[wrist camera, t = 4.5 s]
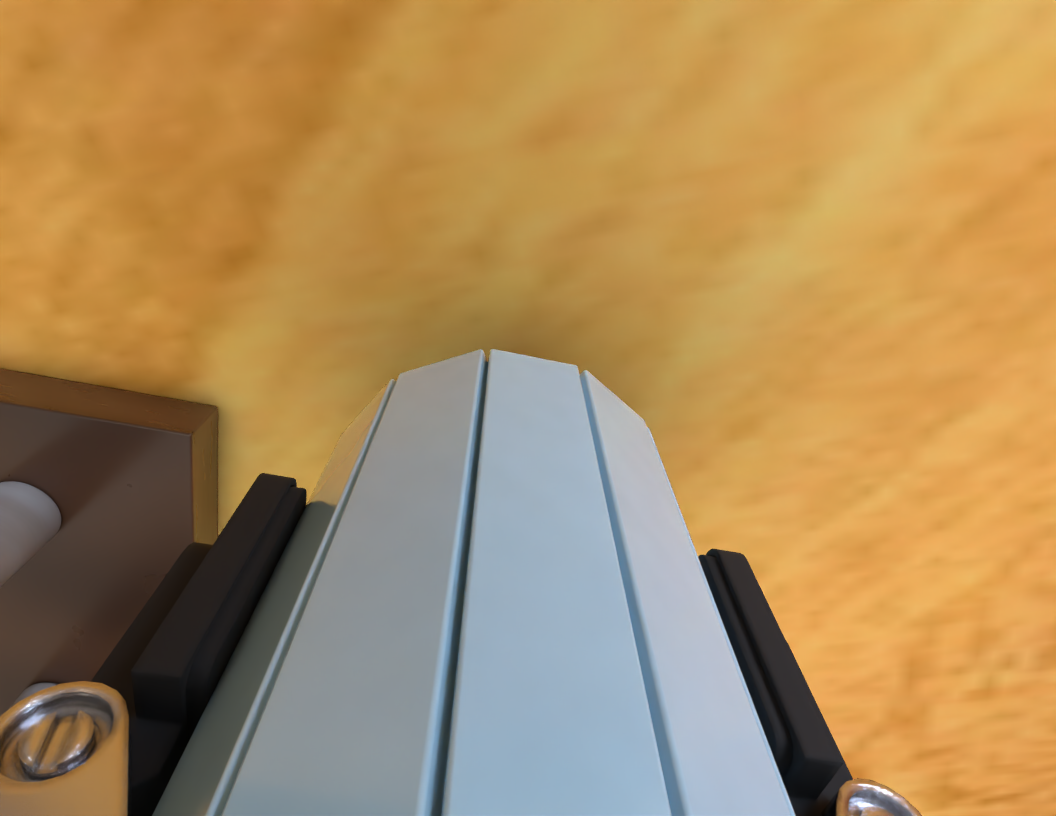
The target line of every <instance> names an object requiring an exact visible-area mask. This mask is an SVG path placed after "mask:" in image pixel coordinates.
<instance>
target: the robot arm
mask: <svg viewBox="0 0 1056 816" xmlns="http://www.w3.org/2000/svg"><path fill="white" fill-rule="evenodd" d="M305 507H306V489H304V488H298V487H297V484H296V479H294V478H289V477H283V476H277V475H271V474H265V473H262V474H260V475H259V476H258V477H257V479H256V480H255V482H254V483H253V485H252V486H251V488H250V489H249V491H248V492H247V494H246V496H245V497H244V499H243V500H242V502H241V503H240V505H239V506H238V508H237V509H236V511H235V512H234V514H233V515H232V517H231V518H230V520H229V521H228V523H227V525H226V526H225V528H224V529H223V531H222V532H221V534H220V535H219V537H218V538H217V540H216V541H215V543H214V544H213V545H210V544H203V543H197V542H193V543H191V544H190V545H188V546H187V547H186V549H185V550H184V551H183V552H182V553H181V555H180V556H179V558H178V559H177V560H176V562H175V563H174V565H173V566H172V567H171V569H170V570H169V572H168V573H167V574H166V576H165V577H164V579H163V580H162V582H161V583H160V584H159V586H158V587H157V589H156V590H155V591H154V593H153V594H152V596H151V597H150V598H149V600H148V601H147V603H146V604H145V605H144V607H143V608H142V610H141V611H140V613H139V614H138V615H137V617H136V618H135V620H134V621H133V622H132V624H131V625H130V627H129V628H128V629H127V631H126V632H125V634H124V635H123V636H122V638H121V639H120V641H119V642H118V643H117V645H116V646H115V648H114V649H113V651H112V652H111V653H110V655H109V656H108V658H107V659H106V660H105V662H104V663H103V665H102V666H101V667H100V669H99V670H98V672H97V673H96V674H95V676H94V677H93V679H92V680H91V681H90V682H88V681H78V682H70V683H62V684H59V685H56V686H52V687H49V688H46V689H43V690H40V691H38V692H36V693H34V694H32V695H31V696H29V697H27V698H25V699H23V700H21V701H19V702H17V703H16V704H15V705H14V706H12V707H11V708H10V709H9V710H7V711H6V712H5V713H4V714H2V715H1V716H0V816H152V815H153V813H154V811H155V809H156V807H157V805H158V803H159V801H160V799H161V797H162V795H163V793H164V791H165V789H166V787H167V785H168V783H169V781H170V779H171V777H172V775H173V773H174V770H175V768H176V766H177V764H178V762H179V760H180V758H181V756H182V754H183V752H184V750H185V748H186V746H187V744H188V742H189V740H190V738H191V736H192V734H193V732H194V730H195V728H196V726H197V724H198V722H199V720H200V718H201V716H202V714H203V712H204V710H205V708H206V706H207V704H208V702H209V700H210V698H211V696H212V694H213V692H214V690H215V688H216V686H217V684H218V682H219V680H220V678H221V676H222V674H223V672H224V670H225V668H226V666H227V664H228V662H229V660H230V658H231V656H232V654H233V652H234V650H235V648H236V646H237V644H238V642H239V640H240V638H241V636H242V634H243V632H244V630H245V628H246V626H247V624H248V622H249V620H250V618H251V616H252V614H253V612H254V610H255V608H256V605H257V603H258V601H259V599H260V597H261V595H262V593H263V591H264V589H265V587H266V585H267V583H268V581H269V579H270V577H271V575H272V573H273V571H274V569H275V567H276V565H277V563H278V561H279V559H280V557H281V555H282V553H283V551H284V549H285V547H286V545H287V543H288V541H289V539H290V537H291V535H292V533H293V531H294V529H295V527H296V525H297V523H298V521H299V519H300V517H301V515H302V513H303V511H304V509H305ZM698 558H699V560H700V563H701V566H702V568H703V571H704V574H705V576H706V579H707V582H708V584H709V587H710V589H711V592H712V595H713V597H714V600H715V603H716V605H717V608H718V611H719V613H720V616H721V619H722V621H723V624H724V627H725V629H726V632H727V634H728V637H729V640H730V642H731V645H732V648H733V650H734V653H735V656H736V658H737V661H738V664H739V666H740V669H741V671H742V674H743V677H744V679H745V682H746V685H747V687H748V690H749V693H750V695H751V698H752V701H753V703H754V706H755V709H756V711H757V714H758V716H759V719H760V722H761V724H762V727H763V730H764V732H765V735H766V738H767V740H768V743H769V746H770V748H771V751H772V753H773V756H774V759H775V761H776V764H777V767H778V769H779V772H780V775H781V777H782V780H783V783H784V785H785V788H786V791H787V793H788V796H789V798H790V801H791V804H792V806H793V809H794V812H795V814H796V816H922V815H921V814H920V812H919V811H918V810H917V809H916V808H915V807H913V806H912V805H911V804H910V803H909V802H908V801H907V800H906V799H905V798H904V797H902V796H901V795H899V794H898V793H896V792H895V791H893V790H892V789H890V788H889V787H887V786H885V785H882V784H880V783H877V782H875V781H872V780H866V779H859V778H857V779H854V780H853V778H852V776H851V774H850V772H849V770H848V768H847V766H846V764H845V762H844V760H843V758H842V756H841V753H840V751H839V749H838V747H837V745H836V743H835V741H834V739H833V737H832V735H831V733H830V731H829V728H828V726H827V724H826V722H825V720H824V718H823V716H822V714H821V712H820V710H819V708H818V706H817V703H816V701H815V699H814V697H813V695H812V693H811V691H810V689H809V687H808V685H807V683H806V681H805V678H804V676H803V674H802V672H801V670H800V668H799V666H798V664H797V662H796V660H795V658H794V655H793V653H792V651H791V649H790V647H789V645H788V643H787V642H786V640H785V638H784V636H783V634H782V632H781V630H780V628H779V626H778V624H777V622H776V619H775V617H774V615H773V613H772V611H771V609H770V607H769V605H768V603H767V601H766V599H765V596H764V594H763V592H762V590H761V588H760V586H759V584H758V582H757V580H756V578H755V576H754V573H753V571H752V569H751V567H750V565H749V563H748V561H747V559H746V557H745V556H744V555H743V554H741V553H736V552H730V551H724V550H718V549H711V550H709V551H708V552H707V554H706V555H700V556H699V557H698Z"/></svg>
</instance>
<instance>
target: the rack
mask: <svg viewBox="0 0 1056 816" xmlns="http://www.w3.org/2000/svg"><path fill="white" fill-rule="evenodd" d="M217 538H218V408H217V407H215V406H210V405H204V404H198V403H192V402H187V401H181V400H175V399H170V398H164V397H158V396H153V395H147V394H141V393H135V392H130V391H124V390H118V389H113V388H107V387H101V386H96V385H90V384H84V383H79V382H73V381H67V380H61V379H56V378H50V377H44V376H39V375H33V374H27V373H22V372H16V371H10V370H4V369H0V716H1V715H2V714H4V713H5V712H6V711H7V710H9V709H10V708H11V707H12V706H14V705H15V704H16V703H17V702H19V701H21V700H23V699H25V698H27V697H29V696H31V695H32V694H34V693H36V692H38V691H40V690H43V689H46V688H49V687H52V686H56V685H59V684H62V683H70V682H78V681H88V682H90V681H91V680H92V679H93V677H94V676H95V674H96V673H97V672H98V670H99V669H100V667H101V666H102V665H103V663H104V662H105V660H106V659H107V658H108V656H109V655H110V653H111V652H112V651H113V649H114V648H115V646H116V645H117V643H118V642H119V641H120V639H121V638H122V636H123V635H124V634H125V632H126V631H127V629H128V628H129V627H130V625H131V624H132V622H133V621H134V620H135V618H136V617H137V615H138V614H139V613H140V611H141V610H142V608H143V607H144V605H145V604H146V603H147V601H148V600H149V598H150V597H151V596H152V594H153V593H154V591H155V590H156V589H157V587H158V586H159V584H160V583H161V582H162V580H163V579H164V577H165V576H166V574H167V573H168V572H169V570H170V569H171V567H172V566H173V565H174V563H175V562H176V560H177V559H178V558H179V556H180V555H181V553H182V552H183V551H184V550H185V549H186V547H187V546H188V545H190V544H191V543H193V542H197V543H203V544H210V545H213V544H214V543H215V541H216V540H217Z"/></svg>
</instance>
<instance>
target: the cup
mask: <svg viewBox="0 0 1056 816" xmlns="http://www.w3.org/2000/svg"><path fill="white" fill-rule="evenodd" d="M152 816H796V814H795V812H794V809H793V806H792V804H791V801H790V798H789V796H788V793H787V791H786V788H785V785H784V783H783V780H782V777H781V775H780V772H779V769H778V767H777V764H776V761H775V759H774V756H773V753H772V751H771V748H770V746H769V743H768V740H767V738H766V735H765V732H764V730H763V727H762V724H761V722H760V719H759V716H758V714H757V711H756V709H755V706H754V703H753V701H752V698H751V695H750V693H749V690H748V687H747V685H746V682H745V679H744V677H743V674H742V671H741V669H740V666H739V664H738V661H737V658H736V656H735V653H734V650H733V648H732V645H731V642H730V640H729V637H728V634H727V632H726V629H725V627H724V624H723V621H722V619H721V616H720V613H719V611H718V608H717V605H716V603H715V600H714V597H713V595H712V592H711V589H710V587H709V584H708V582H707V579H706V576H705V574H704V571H703V568H702V566H701V563H700V560H699V558H698V555H697V552H696V550H695V547H694V545H693V542H692V539H691V537H690V534H689V531H688V529H687V526H686V523H685V521H684V518H683V515H682V513H681V510H680V507H679V505H678V502H677V500H676V497H675V494H674V492H673V489H672V486H671V484H670V481H669V478H668V476H667V473H666V470H665V468H664V465H663V462H662V460H661V457H660V455H659V452H658V449H657V447H656V444H655V441H654V439H653V436H652V433H651V431H650V429H649V428H648V427H647V426H646V423H645V421H644V419H643V418H641V417H640V416H639V415H638V414H637V413H636V412H634V411H633V410H632V409H631V408H630V407H629V406H628V405H626V404H625V403H624V402H623V401H622V400H621V399H619V398H618V397H617V396H616V395H615V394H614V393H613V392H611V391H610V390H609V389H608V388H607V387H606V386H604V385H603V384H602V383H601V382H600V381H599V380H598V379H596V378H595V377H594V376H593V375H592V374H591V373H589V372H588V371H587V370H584V371H583V372H582V373H581V374H580V375H579V370H578V366H576V365H572V364H567V363H562V362H557V361H552V360H547V359H542V358H537V357H532V356H527V355H522V354H517V353H512V352H507V351H502V350H497V349H491V350H490V352H489V357H488V362H487V359H486V356H485V354H484V351H483V350H482V349H479V350H476V351H473V352H469V353H466V354H463V355H460V356H456V357H453V358H450V359H446V360H443V361H440V362H436V363H433V364H430V365H426V366H423V367H420V368H416V369H413V370H410V371H406V372H403V373H400V374H399V376H398V378H397V381H396V380H394V379H391V380H389V381H388V383H387V384H386V385H385V386H384V387H383V388H382V389H381V390H380V391H379V393H378V394H377V395H376V396H375V397H374V398H373V399H372V400H371V402H370V403H369V404H368V405H367V406H366V407H365V408H364V409H363V410H362V412H361V413H360V414H359V415H358V416H357V417H356V418H355V419H354V421H353V422H352V423H351V424H350V425H349V426H348V427H347V428H346V429H345V431H344V432H343V433H342V434H341V436H340V438H339V441H338V443H337V445H336V447H335V449H334V451H333V453H332V455H331V457H330V459H329V461H328V463H327V465H326V467H325V469H324V471H323V473H322V475H321V477H320V479H319V481H318V483H317V485H316V487H315V489H314V491H313V493H312V495H311V497H310V499H309V501H308V503H307V505H306V507H305V509H304V511H303V513H302V515H301V517H300V519H299V521H298V523H297V525H296V527H295V529H294V531H293V533H292V535H291V537H290V539H289V541H288V543H287V545H286V547H285V549H284V551H283V553H282V555H281V557H280V559H279V561H278V563H277V565H276V567H275V569H274V571H273V573H272V575H271V577H270V579H269V581H268V583H267V585H266V587H265V589H264V591H263V593H262V595H261V597H260V599H259V601H258V603H257V605H256V608H255V610H254V612H253V614H252V616H251V618H250V620H249V622H248V624H247V626H246V628H245V630H244V632H243V634H242V636H241V638H240V640H239V642H238V644H237V646H236V648H235V650H234V652H233V654H232V656H231V658H230V660H229V662H228V664H227V666H226V668H225V670H224V672H223V674H222V676H221V678H220V680H219V682H218V684H217V686H216V688H215V690H214V692H213V694H212V696H211V698H210V700H209V702H208V704H207V706H206V708H205V710H204V712H203V714H202V716H201V718H200V720H199V722H198V724H197V726H196V728H195V730H194V732H193V734H192V736H191V738H190V740H189V742H188V744H187V746H186V748H185V750H184V752H183V754H182V756H181V758H180V760H179V762H178V764H177V766H176V768H175V770H174V773H173V775H172V777H171V779H170V781H169V783H168V785H167V787H166V789H165V791H164V793H163V795H162V797H161V799H160V801H159V803H158V805H157V807H156V809H155V811H154V813H153V815H152Z"/></svg>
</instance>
